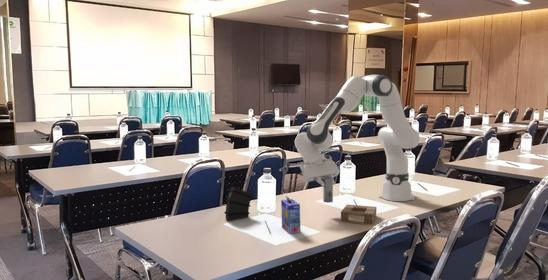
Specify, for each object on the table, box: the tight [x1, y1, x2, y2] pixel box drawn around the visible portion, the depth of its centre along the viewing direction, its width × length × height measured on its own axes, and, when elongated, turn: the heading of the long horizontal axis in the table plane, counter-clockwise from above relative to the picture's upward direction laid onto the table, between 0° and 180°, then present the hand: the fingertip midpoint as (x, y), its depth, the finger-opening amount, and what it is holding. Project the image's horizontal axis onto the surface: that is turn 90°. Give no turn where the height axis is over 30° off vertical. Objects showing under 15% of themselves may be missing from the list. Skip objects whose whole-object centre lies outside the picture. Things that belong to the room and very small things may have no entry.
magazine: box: [224, 186, 254, 222], centre depth 211 cm, size 4×13×15 cm, turn 122°
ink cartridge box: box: [280, 196, 301, 234], centre depth 193 cm, size 10×6×14 cm, turn 18°
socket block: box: [340, 204, 377, 226], centre depth 208 cm, size 14×14×4 cm
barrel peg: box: [322, 178, 334, 204], centre depth 213 cm, size 4×4×11 cm
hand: (329, 185), depth 213 cm, fingers closed on barrel peg, 4 cm apart
